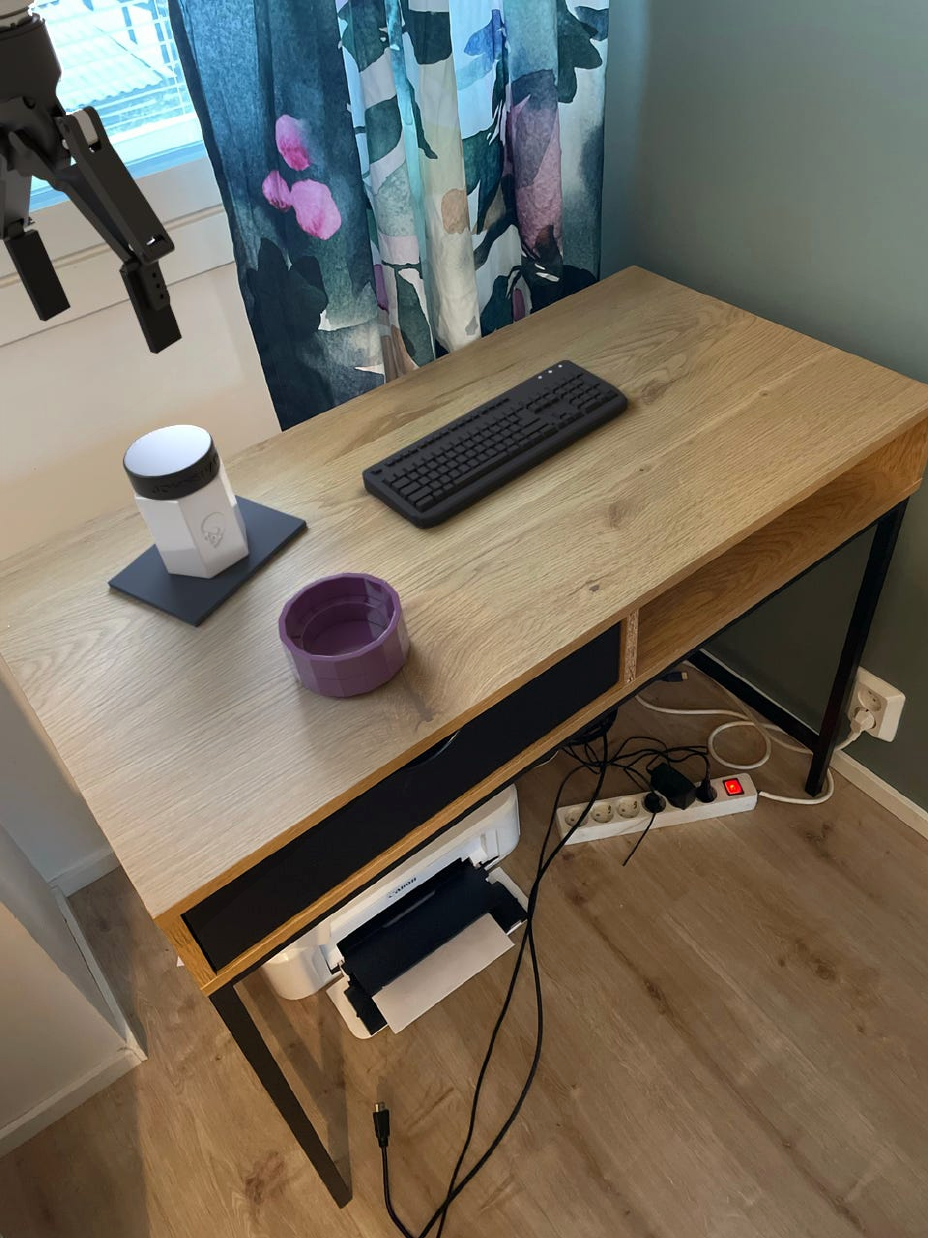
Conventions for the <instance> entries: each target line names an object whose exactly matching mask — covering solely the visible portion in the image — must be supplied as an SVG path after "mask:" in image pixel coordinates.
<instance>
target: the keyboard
mask: <svg viewBox="0 0 928 1238" xmlns="http://www.w3.org/2000/svg"><path fill="white" fill-rule="evenodd" d="M628 407H629V400H628V398H627V397H626V395H625V393H623V392H622V391H621V390H620V389H619V388H618V387H617V386H615V385H613V384H612V383H610V382H608V381H606V380H605V379H603V378H601V377H599V376H597V375H596V374H594V373H592V372H591V371H589V370H587V369H586V368H584V367H582V366H580V365H578V364H576V363H575V362H574V361H572V360H570V359H562V360H560V361H558V362H556V363H554V364H553V365H551V366H549V367H547V368H545V369H543V370H541V371H540V372H537V373H536V374H534V375H533V376H531V377H528V378H527V379H525V380H524V381H522V382H520V383H518V384H516V385H515V386H513V387H511V388H509V389H508V390H505V391H504V392H502V393H500V394H499V395H497V396H495V397H493V398H490V399H489V400H487V401H485V402H484V403H482V404H480V405H479V406H477V407H475V408H473V409H472V410H469V411H467V412H466V413H464V414H462V415H461V416H459V417H457V418H455V419H453V420H452V421H450V422H448V423H446V424H444V425H443V426H441V427H439V428H437V429H435V430H434V431H431V432H430V433H429V434H426V435H425V436H423V437H421V438H419V439H417V440H416V441H414V442H412V443H410V444H409V445H406V446H405V447H403V448H401V449H400V450H398V451H395V452H394V453H392V454H391V455H388V456H386V457H385V458H383V459H382V460H380V461H378V462H376V463H374V464H372V465H370V466H369V467H367V468H365V469H364V470H363V471H362V473H361V476H362V477H361V478H362V481H363V485H364V489H365V490H366V491H367V492H368V493H370V494H371V495H372V496H374V497H375V498H377V499H378V500H379V501H381V502H382V503H383V504H385V505H386V506H388V507H389V508H390V509H392V510H393V511H394V512H396V513H397V514H398V515H399V516H401V517H402V518H404V519H405V520H406V521H408V522H409V523H411V524H412V525H413V526H415V527H416V528H419V529H430V528H434V527H436V526H439V525H441V524H443V523H444V522H446V521H448V520H449V519H451V518H453V517H455V516H456V515H458V514H459V513H461V512H463V511H465V510H466V509H468V508H469V507H471V506H473V505H474V504H476V503H477V502H479V501H481V500H483V499H484V498H485V497H487V496H489V495H491V494H492V493H494V492H496V491H497V490H499V489H500V488H502V487H504V486H505V485H507V484H509V483H510V482H512V481H514V480H516V479H517V478H519V477H520V476H522V475H524V474H525V473H527V472H529V471H530V470H531V469H533V468H535V467H537V466H538V465H540V464H542V463H543V462H545V461H546V460H548V459H550V458H552V457H553V456H554V455H556V454H558V453H560V452H561V451H563V450H564V449H566V448H568V447H570V446H571V445H573V444H574V443H576V442H578V441H579V440H581V439H583V438H584V437H586V436H588V435H589V434H591V433H592V432H594V431H596V430H598V429H599V428H601V427H603V426H604V425H605V424H607V423H609V422H611V421H612V420H614V419H616V418H617V417H618V416H620V415H622V414H623V413H624V412H625V411H627V410H628Z"/></svg>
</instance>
